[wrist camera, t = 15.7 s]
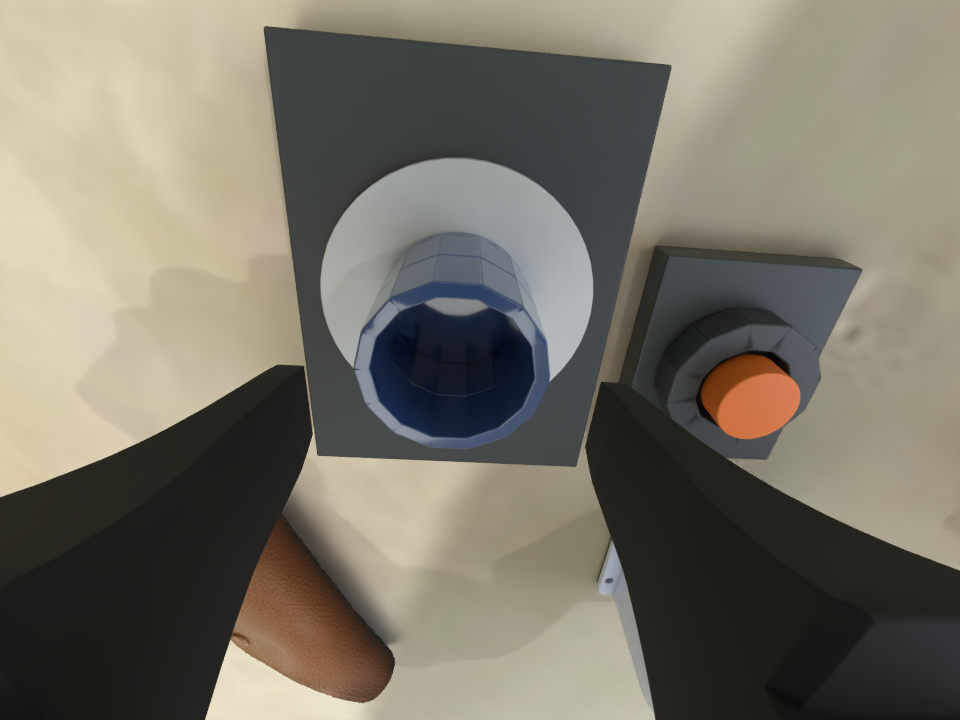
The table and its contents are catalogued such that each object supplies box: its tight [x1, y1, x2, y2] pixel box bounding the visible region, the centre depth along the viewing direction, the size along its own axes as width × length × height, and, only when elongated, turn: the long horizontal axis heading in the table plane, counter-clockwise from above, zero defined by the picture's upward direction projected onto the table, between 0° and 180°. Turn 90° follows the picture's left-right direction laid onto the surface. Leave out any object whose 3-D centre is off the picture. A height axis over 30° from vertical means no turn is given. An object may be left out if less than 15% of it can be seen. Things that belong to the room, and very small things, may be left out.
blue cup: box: [353, 232, 550, 449], centre depth 15 cm, size 5×5×5 cm
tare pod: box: [620, 246, 862, 460], centre depth 20 cm, size 10×8×3 cm
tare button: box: [701, 354, 800, 439], centre depth 19 cm, size 3×3×2 cm
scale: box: [264, 26, 671, 467], centre depth 18 cm, size 16×12×3 cm
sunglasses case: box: [231, 514, 395, 703], centre depth 28 cm, size 18×7×7 cm
